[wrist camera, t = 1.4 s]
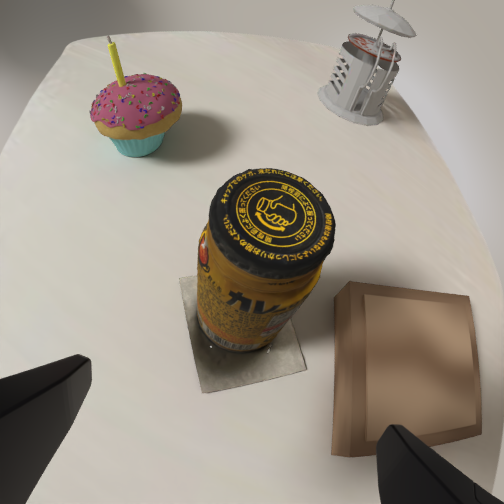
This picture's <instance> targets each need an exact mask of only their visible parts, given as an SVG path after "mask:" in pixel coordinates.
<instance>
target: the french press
mask: <svg viewBox="0 0 504 504" xmlns="http://www.w3.org/2000/svg"><path fill="white" fill-rule="evenodd" d="M394 1H395V0H392V3H391V5H390V8H384V7H380V6H376V5H361V6H356V7H354V8H353V10H354V13H355V14H356V15H357V16H359V17H361V18H362V19H364V20H365V21H367V22H369V23H371V24H373V25H375V26H377V27H379V28H381V31H380V33H379V36H378V38H377V40H376V39H375V38H374V39H373V38H372V37H369V36H366V35H363V34H357V33H353V34H349V36H348V39H349V42H344V43H343V45H342V47H341V49H340V52H339V54H341V55H342V56H343V58H344V59H340V58H337V61H336V62H337V63H338V64H339V65H340V66H334V70H335V72H336V73H332V75H331V78H332V79H333V81H330V80H329V83H328V85H325V86H323V87H320V89H319V91H318V96H319V99H320V101H321V102H322V103H323V104H324V105H325V106H326V107H327V109H329V110H330V111H332V112H333V113H335V114H336V115H338V116H339V117H341V118H344V119H346V120H349V121H351V122H353V123H357V124H362V125H366V126H368V125H378V124H379V123H380V122H382V121H383V113H382V111H381V109H380V108H381V106H382V104H383V102H384V99H385V98H386V96H387V93H388V91H389V90H390V88H391V85H392V83H393V81H394V78H395V77H396V75H397V73H398V71H399V66H398V65H397V63H396V62H398V61H400V60H401V57H400V55H399V54H398V52H397V51H396V43H395V42H394V43H393V44H392V46H391V47H390V46H387V45H386V44H384V43H383V39H382V37H380V36H381V34H382V31H383V29H384V30H386V31H388V32H391V33H394V34H396V35H399V36H403V37H408V38H411V37H415V36H416V33H415V31H414V30H413V29H412V27H411V26H410V24H409V23H408V22H407V21H406V20H405V19H404V18H403V17H401V16H400V15H398V14H397V13H395V12H394V11H393V10H392V6H393V3H394ZM380 41H381V42H380ZM393 47H394V49H393ZM344 62H347V65H345V66H344V64H343V63H344ZM377 65H379V66H380V67H381V68H382V69H384V70H382V69H378V70H377V69H376V68H377ZM339 70H343V71H344V72H343V73H340V71H339ZM374 73H376V75H375V77H374V76H373V75H374ZM336 77H339V78H340V80H337V79H336ZM371 79H372V80H373V82H372V84H371V83H370V80H371ZM390 81H392V83H390V84H389V82H390ZM367 85H368V86H369V87H370V89H369V90H368V89H366V86H367ZM386 89H389V90H388V91H385V90H386ZM384 96H385V98H382V97H384Z"/></svg>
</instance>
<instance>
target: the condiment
mask: <svg viewBox="0 0 504 504" xmlns="http://www.w3.org/2000/svg"><path fill="white" fill-rule="evenodd" d="M335 226H336V224H335V219H334V216H333V213H332V211H331V208H330V206H329V204H328V203H327V200H326V199H325V198H324V196H323V194H322V193H321V192H320V191H318V190H317V189H316V188H315V187H314V186H312V184H311V183H309V182H308V181H307V180H305V179H304V178H302V177H299V176H297V175H295V174H292V173H290V172H287V171H282V170H278V169H272V168H267V169H253V170H252V169H248V170H246V171H244V172H243V173H239V174H237V175H235V176H233V177H232V178H230V179H229V180H228V181H227V182H225V184H224V185H223V186H222V187H220V188H219V189H218V190H217V193H216V195H215V196H214V198H213V199H212V202H211V206H210V211H209V221H208V223H207V224H206V226H205V228H204V230H203V232H202V234H201V237H200V239H199V246H198V264H197V265H198V267H197V270H198V274H197V276H190V277H183V278H179V280H180V286H181V292H182V298H183V303H184V309H185V314H186V319H187V324H188V330H189V335H190V339H191V344H192V349H193V354H194V359H195V364H196V368H197V373H198V377H199V381H200V386H201V390H202V393H208V392H213V391H219V390H224V389H229V388H233V387H238V386H243V385H247V384H252V383H256V382H260V381H264V380H269V379H273V378H277V377H281V376H285V375H288V374H292V373H296V372H299V371H303V370H306V367H305V364H304V360H303V357H302V354H301V351H300V347H299V343H298V340H297V338H296V334H295V330H294V327H293V325H292V321H291V317H292V315H293V314H294V313H295V312H296V311H297V309H298V308H299V307H300V305H301V304H302V303H303V302H304V300H305V299H306V298H307V297H308V295H309V294H310V293H311V291H312V290H313V288H314V287H315V285H316V283H317V282H318V280H319V278H320V273H321V269H322V264H323V262H324V260H325V258H326V257H327V256H328V255H329V254H330V252H331V250H332V248H333V243H334V235H335ZM270 344H272V346H271V347H269V345H270ZM210 346H212V348H210ZM269 348H270V352H269V353H267V350H268V349H269Z"/></svg>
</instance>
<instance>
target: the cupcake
mask: <svg viewBox="0 0 504 504" xmlns="http://www.w3.org/2000/svg"><path fill="white" fill-rule="evenodd" d="M107 38H108V41H109V43H110V44H108V49H109V52H110V56H111V60H112V63H113V67H114V70H115V74H116V77H117V81H114V82H112V83H111V84H109V85H107V87H106V88H104V89H103V90H101V91H100V93H99V95H98V96H97V95H96V100H94V101H93V102H92V109H91V111H89V112H90V116H91V120H92V121H93V122H94V123H95V125H96V127H97V129H98V130H99V132H100V133H101V134H102V135H104V136H107V137H109V138H110V139H111V140H112V142H113V143H114V144H115V146H116V148H117V149H118V151H119V152H120V153H121V154H123V155H125V156H129V157H141V156H145V155H148V154H150V153H152V152H154V151H155V150H156V149H157V148H158V147H159V146H160V145H161V143H162V140H163V137H164V134H165V132H166V131H167V130H169V128H170V127H171V126H172V125H173V124H174V123H175V122H176V121H178V120H179V118H180V115H181V112H182V101H181V98H180V94H179V91H178V90H177V88H176V87H175V86H174V85H173V84H172V83H171V82H170V81H167V80H166V79H162V78H160V77H158V76H154V75H148V74H146V73H144V74H141V75H138V74H136V75H132V76H125V77H124V75H123V71H122V67H121V64H120V60H119V56H118V52H117V48H116V44H115V42H111V39H110V37H109V36H107Z"/></svg>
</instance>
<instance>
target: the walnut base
mask: <svg viewBox="0 0 504 504" xmlns="http://www.w3.org/2000/svg"><path fill="white" fill-rule="evenodd" d="M334 321H335V375H334V412H333V434H332V451H331V455H337V456H343V457H361V456H371V455H376V444H377V442H378V440H379V439H380V437H381V436H382V434H383V433H384V431H385V429H386V428H387V427H388V426H389V425H390V424H400V425H403V426H404V427H405V428H406V429H408V430H409V431H410V432H411V433H413V434H414V435H415V436H416V437H418V438H419V439H420V440H421V441H423V442H424V443H425V444H426V445H427V446H429V447H431V446H436V445H441V444H445V443H450V442H454V441H458V440H462V439H466V438H470V437H474V436H477V435H481V434H482V414H481V388H480V373H479V362H478V353H477V344H476V336H475V329H474V322H473V316H472V310H471V305H470V299H469V296H465V295H456V294H448V293H439V292H431V291H423V290H415V289H407V288H399V287H391V286H383V285H375V284H367V283H360V282H352V281H349V282H348V283H347V284H346V285H345V286H344V288H343V289H342V290H341V291H340V292H339V293H338V294H337V295H336V296H335V297H334Z"/></svg>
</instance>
